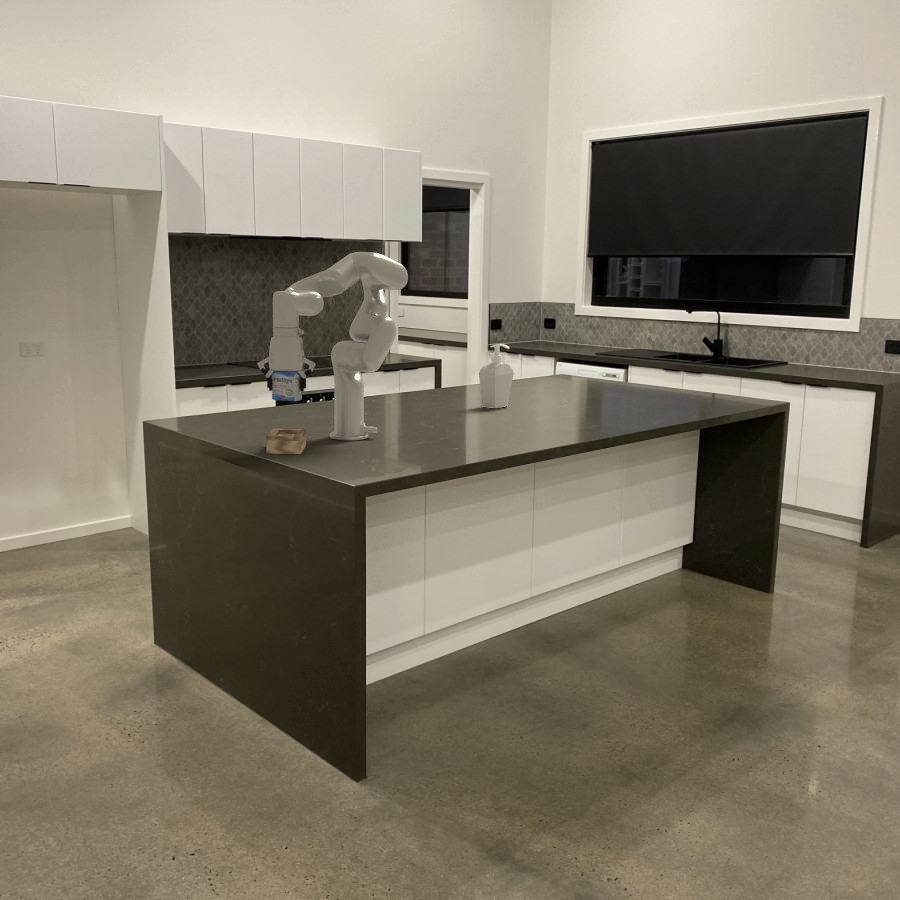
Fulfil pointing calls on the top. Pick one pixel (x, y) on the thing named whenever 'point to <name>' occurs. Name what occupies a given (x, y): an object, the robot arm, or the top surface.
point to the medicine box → (286, 386)
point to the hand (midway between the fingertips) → (286, 390)
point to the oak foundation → (286, 441)
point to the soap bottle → (496, 380)
